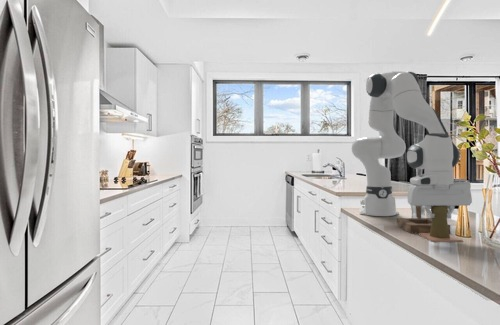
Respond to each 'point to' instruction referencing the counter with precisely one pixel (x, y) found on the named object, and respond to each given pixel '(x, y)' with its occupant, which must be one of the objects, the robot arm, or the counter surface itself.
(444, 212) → the olive flared column
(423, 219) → the walnut holder
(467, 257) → the counter surface
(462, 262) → the counter surface
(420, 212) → the beer glass
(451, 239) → the terracotta tile
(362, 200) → the robot arm
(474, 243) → the counter surface
